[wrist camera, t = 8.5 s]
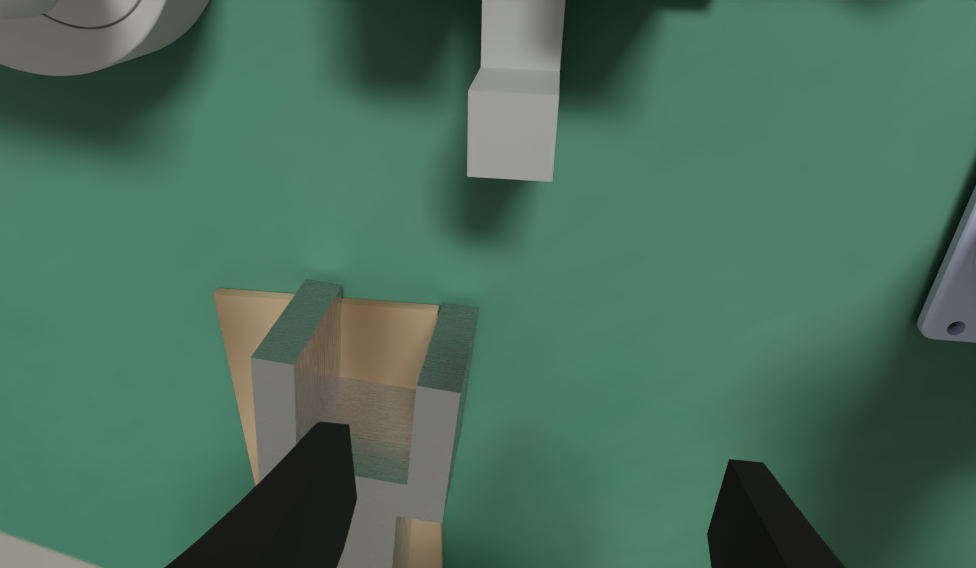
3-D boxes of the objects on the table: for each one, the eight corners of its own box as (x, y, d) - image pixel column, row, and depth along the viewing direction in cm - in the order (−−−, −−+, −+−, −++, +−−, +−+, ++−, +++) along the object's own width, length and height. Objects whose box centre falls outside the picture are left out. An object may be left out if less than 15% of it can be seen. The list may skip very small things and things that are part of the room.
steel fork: (478, 308, 22) (460, 393, 18) (439, 574, 29) (420, 675, 25) (306, 279, 22) (250, 357, 18) (310, 551, 29) (271, 648, 25)
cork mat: (439, 305, 22) (437, 311, 22) (443, 604, 31) (442, 612, 31) (218, 288, 23) (213, 293, 23) (282, 586, 32) (279, 594, 31)
